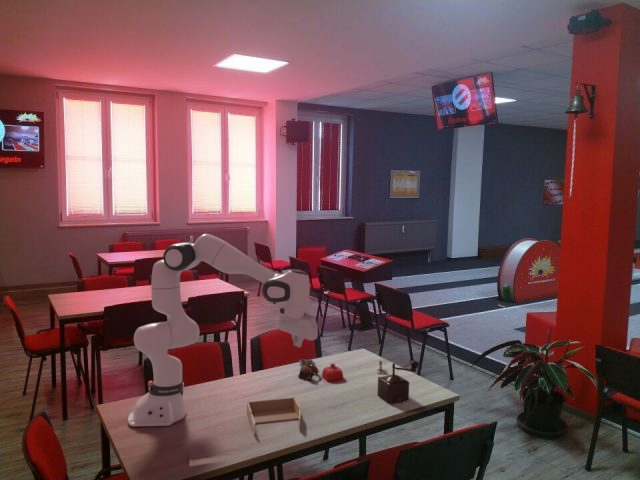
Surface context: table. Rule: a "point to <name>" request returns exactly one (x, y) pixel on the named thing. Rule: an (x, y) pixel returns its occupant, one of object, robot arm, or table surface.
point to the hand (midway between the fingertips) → (297, 346)
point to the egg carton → (307, 362)
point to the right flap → (299, 417)
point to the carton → (273, 410)
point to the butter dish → (332, 374)
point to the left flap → (252, 422)
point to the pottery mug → (309, 374)
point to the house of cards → (381, 368)
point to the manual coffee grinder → (395, 386)
